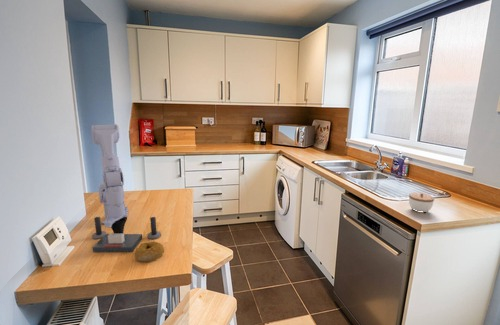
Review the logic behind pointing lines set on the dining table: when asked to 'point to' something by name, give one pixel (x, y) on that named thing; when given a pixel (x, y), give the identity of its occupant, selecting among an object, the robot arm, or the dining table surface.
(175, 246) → the dining table surface
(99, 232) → the cable post
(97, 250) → the breaker block
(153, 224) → the cable post
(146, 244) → the bagel
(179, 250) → the dining table surface
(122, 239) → the breaker paddle
